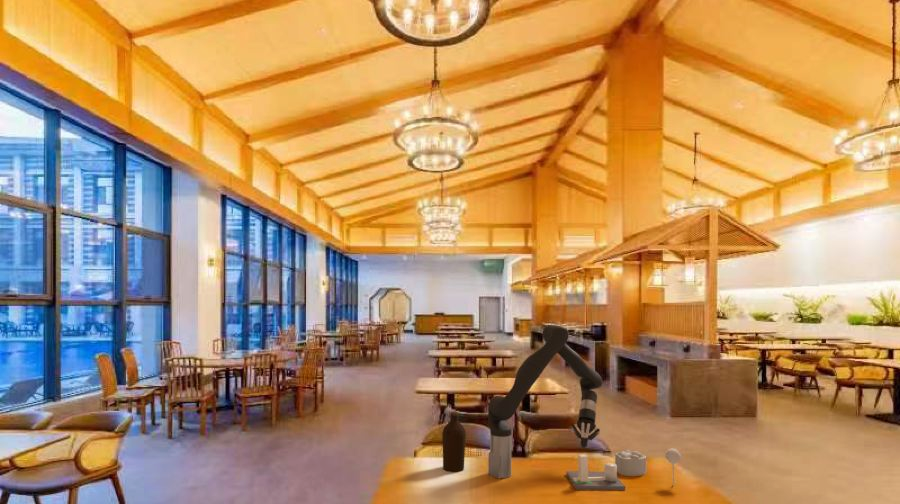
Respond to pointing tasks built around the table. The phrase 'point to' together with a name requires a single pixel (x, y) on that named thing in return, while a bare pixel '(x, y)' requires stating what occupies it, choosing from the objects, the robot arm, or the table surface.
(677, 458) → the lollipop
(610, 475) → the beige u-shaped piece
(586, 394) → the robot arm
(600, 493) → the table surface
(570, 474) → the board
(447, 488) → the table surface
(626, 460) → the lumpy-topped squat cylinder
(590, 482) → the green band
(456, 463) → the olive oil
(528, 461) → the table surface
